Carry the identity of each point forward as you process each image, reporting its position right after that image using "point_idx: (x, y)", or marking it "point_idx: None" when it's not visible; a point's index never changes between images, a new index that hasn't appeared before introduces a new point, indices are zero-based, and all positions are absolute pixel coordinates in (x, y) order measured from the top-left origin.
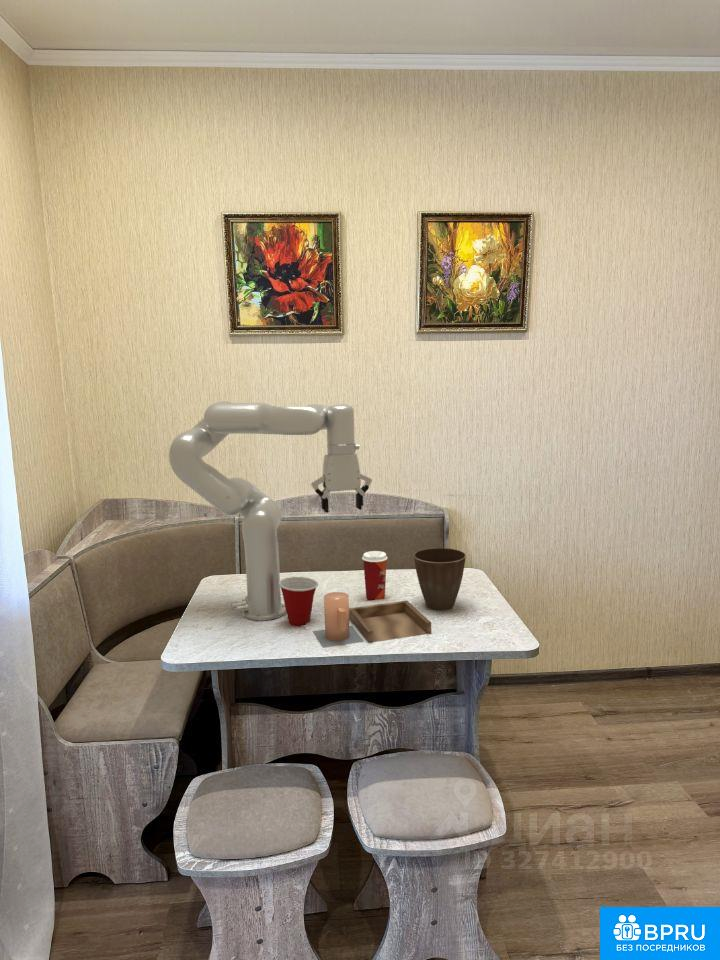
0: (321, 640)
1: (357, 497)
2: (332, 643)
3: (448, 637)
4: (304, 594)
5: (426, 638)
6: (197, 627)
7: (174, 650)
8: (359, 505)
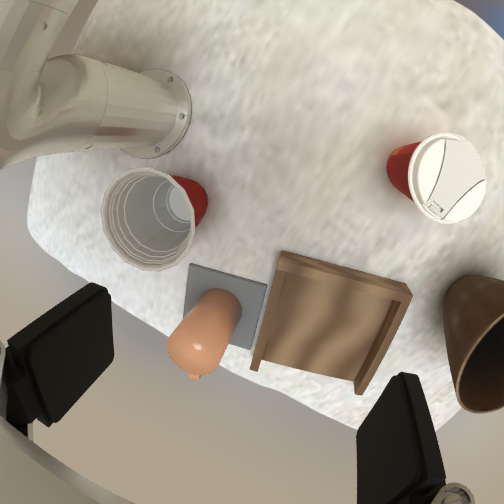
0: (189, 306)
1: (381, 488)
2: None
3: (373, 394)
4: (153, 258)
5: (346, 383)
6: None
7: (29, 203)
8: (360, 456)
